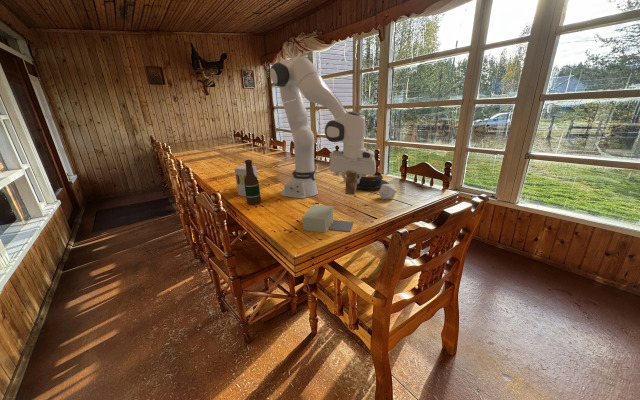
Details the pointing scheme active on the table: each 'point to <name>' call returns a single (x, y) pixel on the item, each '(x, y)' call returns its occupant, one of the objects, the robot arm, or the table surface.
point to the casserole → (371, 181)
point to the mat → (341, 226)
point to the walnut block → (351, 182)
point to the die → (387, 191)
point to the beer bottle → (251, 185)
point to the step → (318, 218)
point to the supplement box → (242, 178)
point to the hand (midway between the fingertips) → (351, 182)
